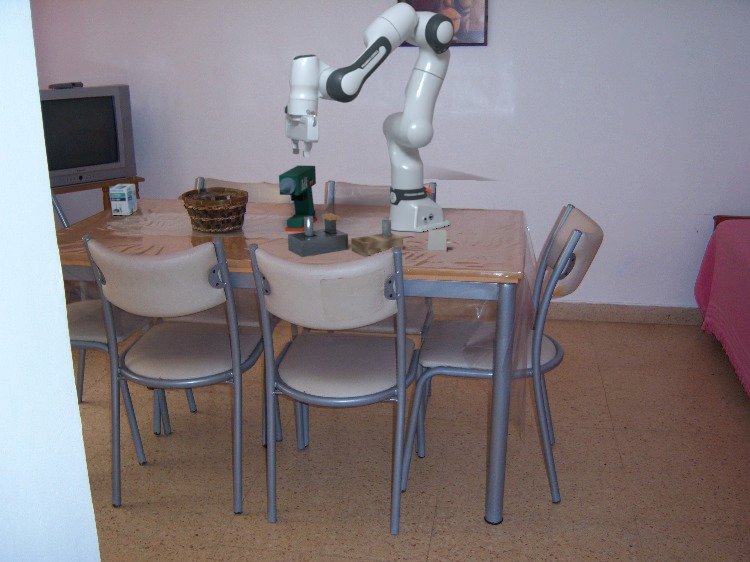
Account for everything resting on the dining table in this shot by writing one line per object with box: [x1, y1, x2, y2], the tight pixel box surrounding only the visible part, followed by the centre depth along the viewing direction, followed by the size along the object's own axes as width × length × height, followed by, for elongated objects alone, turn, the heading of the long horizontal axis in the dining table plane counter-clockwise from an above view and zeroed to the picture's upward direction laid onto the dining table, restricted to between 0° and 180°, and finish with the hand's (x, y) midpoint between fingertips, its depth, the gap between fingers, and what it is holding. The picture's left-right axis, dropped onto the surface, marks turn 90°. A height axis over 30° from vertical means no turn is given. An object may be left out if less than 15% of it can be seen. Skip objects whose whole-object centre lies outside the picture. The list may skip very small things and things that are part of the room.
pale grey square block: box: [427, 228, 452, 251], centre depth 243 cm, size 3×7×7 cm, turn 86°
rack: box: [350, 219, 404, 257], centre depth 244 cm, size 14×8×9 cm, turn 121°
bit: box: [304, 216, 315, 238], centre depth 244 cm, size 3×3×11 cm
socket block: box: [287, 228, 349, 258], centre depth 246 cm, size 16×10×5 cm, turn 121°
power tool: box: [278, 165, 319, 233], centre depth 270 cm, size 32×7×20 cm, turn 168°
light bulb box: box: [109, 183, 138, 216], centre depth 300 cm, size 11×7×11 cm, turn 179°
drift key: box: [321, 212, 340, 235], centre depth 247 cm, size 3×5×8 cm, turn 31°
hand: (300, 155), depth 241 cm, fingers open, 8 cm apart
